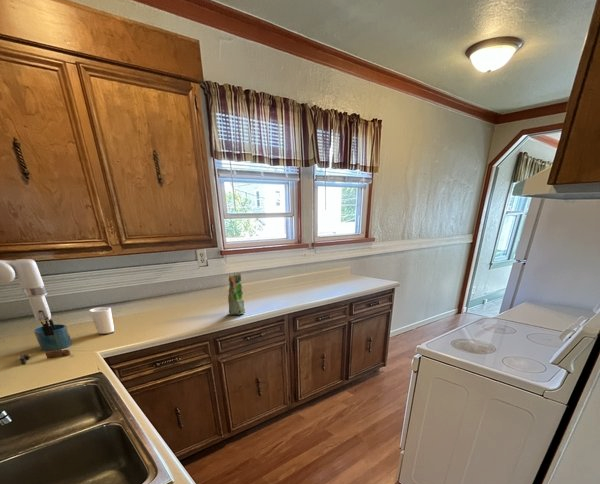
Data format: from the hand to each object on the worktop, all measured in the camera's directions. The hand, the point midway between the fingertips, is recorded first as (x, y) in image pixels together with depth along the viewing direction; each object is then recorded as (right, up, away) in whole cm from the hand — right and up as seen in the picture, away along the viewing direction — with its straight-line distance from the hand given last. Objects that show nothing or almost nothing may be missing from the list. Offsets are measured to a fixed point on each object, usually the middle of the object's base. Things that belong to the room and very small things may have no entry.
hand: (50, 332), depth 139 cm
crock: (-10, -4, +16) cm, 19 cm away
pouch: (+67, +22, +68) cm, 98 cm away
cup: (+4, +5, +34) cm, 35 cm away
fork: (-11, -12, 0) cm, 17 cm away
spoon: (0, -10, +5) cm, 11 cm away
